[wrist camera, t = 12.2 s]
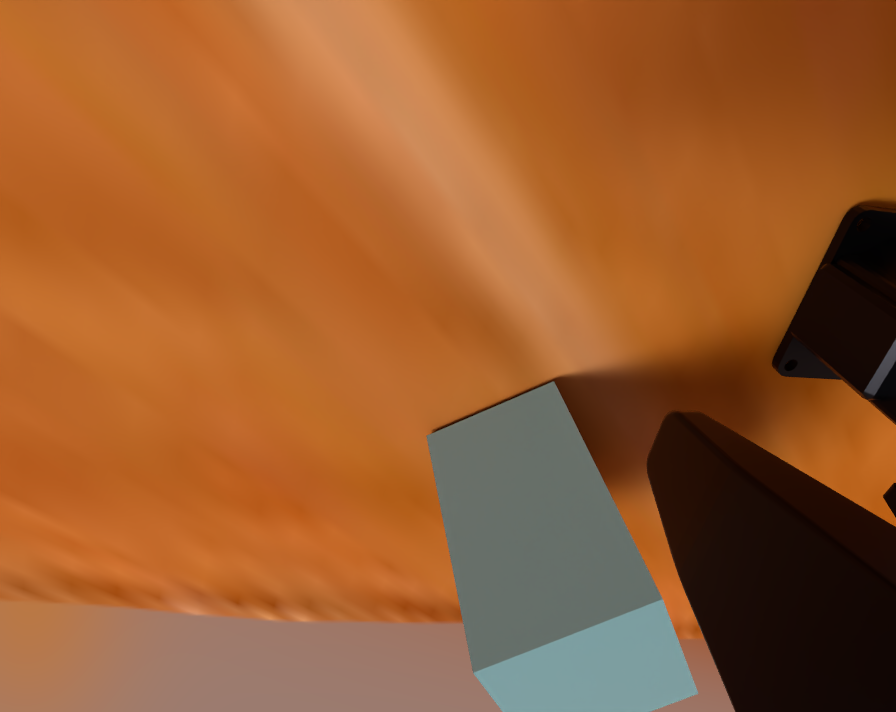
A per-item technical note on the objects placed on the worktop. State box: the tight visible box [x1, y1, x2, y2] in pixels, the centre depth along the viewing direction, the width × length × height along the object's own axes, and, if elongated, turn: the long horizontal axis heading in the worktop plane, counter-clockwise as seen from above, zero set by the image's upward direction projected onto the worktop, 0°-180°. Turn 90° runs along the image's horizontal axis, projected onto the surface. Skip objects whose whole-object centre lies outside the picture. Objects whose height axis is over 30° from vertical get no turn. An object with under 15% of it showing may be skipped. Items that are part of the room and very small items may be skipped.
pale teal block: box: [427, 381, 698, 712], centre depth 21 cm, size 5×5×9 cm
